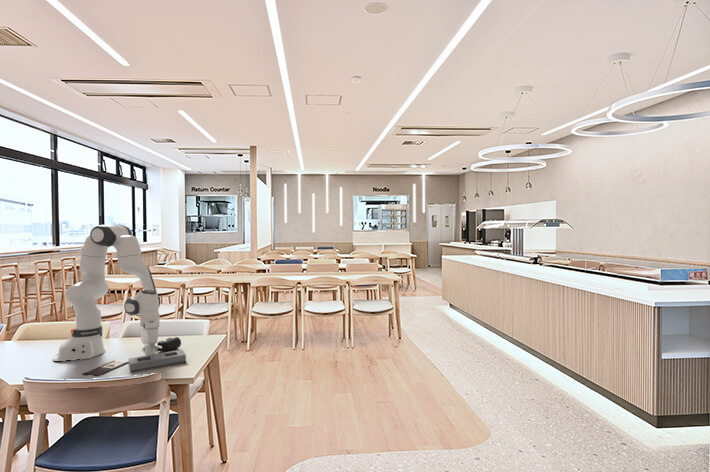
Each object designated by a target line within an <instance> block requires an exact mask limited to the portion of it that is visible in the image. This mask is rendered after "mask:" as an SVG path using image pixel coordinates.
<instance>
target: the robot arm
mask: <svg viewBox="0 0 710 472" xmlns="http://www.w3.org/2000/svg"><path fill="white" fill-rule="evenodd" d="M85 238H86V239H85V240H84V243H83V247H82V250H81V256H80V260H79V261H80V262H79V265H78V266H79V271H80V272H81V273H82V281H81V282H76V283H74V284H72V285H70V286H69V287H68V288H67V289H66V290H65V294H64V296H65V299H66V301H67V302H68V303H70V304H71V306H72V308H73V312H74V314H75V328H71V329H70V334H71V337H70V338H68V339H67V340H66V341H64V342H63V343H62V344H60V347H58V348H59V349H58V352H57V354H55V355H54V356H53V358H52V361H53V360H54V361H63V362H67V361H66V360H71V361H77V360H76V359H80V360H87V359H88V360H89V359H92V358H95V357H96V356H100V355H102V354H105V353H106V348H105V347H104V341H103V335H104V334H103V325H102V312H101V310H100V309H99V308H98V307H97V305H96V300H99V299H101V298H102V297H104V296H106V294H108V292H109V289H110V287H109V283H108V282H107V280H106V278H105V266H106V259H107V255H108V254H107V253H108V249H109V248H110V247H114V249H115V251H116V256H117V264H118V267H119V268H120V269H121V271H123V272H125V273H127V274H130V275H132V276H135V277H137V278H138V279H139V280H140V282H141V286H142V288H143V290H141V291H140V292H139V293H138V294H136V295H134V296H131V297H128V298H127V299H125V301H124V305H123V308H124V312H125V313H126V314H127V315H129V316H137V315H139V316H140V317H139V318H140V319H139V321H140V326H139V327H141V328H142V327H143V329H144V333H145V337H146V339H147V342H148V343H149V344H150V350H151V351H154V352H155V345H156V344H157V343H158V342H159V341H158V340H159V338H158V337H159V328H160V325H161V322H160V313H159V310H160V309H159V308H160V306H161V298H160V296H159V294H158V291H157V288H156V286H155V282H154V279H153V276H152V273H151V270H150V268H149V266H148V265H147V264H146V263H145V261H144V259H143V257H142V256H143V255H142V251H141V250H142V249H141V247H140V243H139V240H138V238H137V236H134V235H133V232H132V230H131V229H130V228H129V227H128V226H125V225H123V224H122V225H119V224H100V225H96V226H94V227H93V228H92V229H91V231H90V233H89V235H88V236H87V237H85ZM54 361H53V362H54Z"/></svg>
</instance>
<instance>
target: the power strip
mask: <svg viewBox="0 0 710 472" xmlns="http://www.w3.org/2000/svg"><path fill="white" fill-rule="evenodd" d="M128 362H129V363H128V369H129V373H130V374H132V373H137V372H143V371H149V370H153V369H159V368H164V367H169V366H175V365H180V364H186V363H187V354H186V353H185V352H184V350H183V349H176V350H174V351H170V352H164V353H158V352H157V353H155V354H152V355H146V356H145V355H141V356H133V357H129V358H128Z"/></svg>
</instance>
